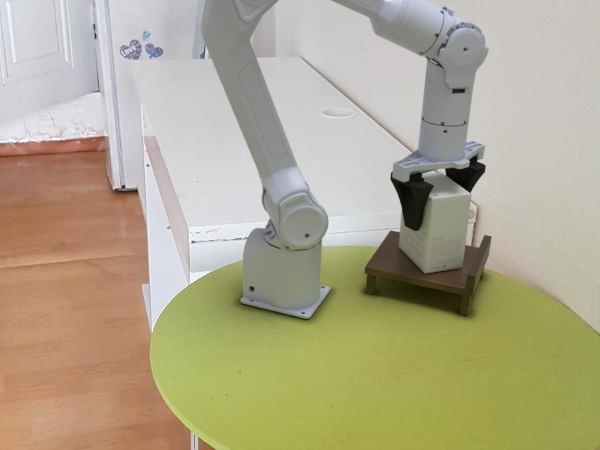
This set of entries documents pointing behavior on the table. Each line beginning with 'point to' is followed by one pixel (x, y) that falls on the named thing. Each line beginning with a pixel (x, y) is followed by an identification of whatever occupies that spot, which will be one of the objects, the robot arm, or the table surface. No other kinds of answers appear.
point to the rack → (402, 268)
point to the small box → (439, 227)
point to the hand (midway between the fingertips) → (433, 220)
